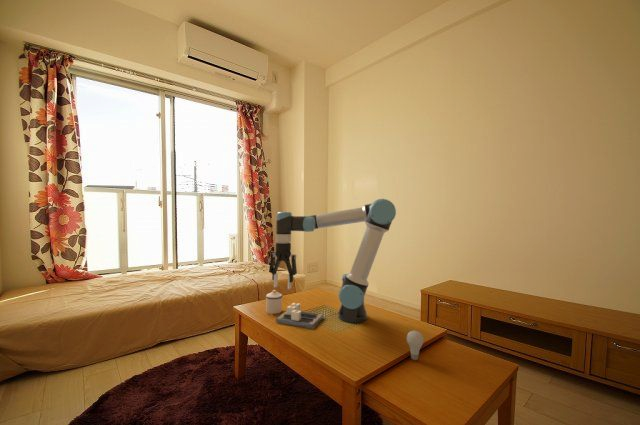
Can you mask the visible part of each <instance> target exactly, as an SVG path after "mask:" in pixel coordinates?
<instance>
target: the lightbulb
mask: <svg viewBox="0 0 640 425" xmlns="http://www.w3.org/2000/svg"><path fill="white" fill-rule="evenodd" d="M424 341H425V340H424V337H423V334H422V333H421V332H419V331H418V330H410V331H409V332H408V333H407V335H406V342H407V344H408V346H409V349H410V359H412V360H413V361H417V360H418V359H419V355H420V350H421V348H422V347H423V344H424Z"/></svg>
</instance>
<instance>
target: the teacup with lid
mask: <svg viewBox="0 0 640 425" xmlns="http://www.w3.org/2000/svg"><path fill="white" fill-rule="evenodd" d="M282 301H283V294H282V293H280V292H278V291H277V290H276V289H273V290H272V291H271V292H270V293H269V292H268V293H267V294H266V296H265V313H267V314H270V315H277V314H280V313H281V312H282V309H283V306H282V304H283V302H282Z"/></svg>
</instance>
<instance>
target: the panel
mask: <svg viewBox="0 0 640 425" xmlns="http://www.w3.org/2000/svg"><path fill="white" fill-rule="evenodd" d="M300 311H301V319H300V320H299V321H295V320H291V315H287V310H286V311H285V312H283V313H281V314H280V315H279V316H277V317H276V318H275V323H277V324H283V325H287V326H288V325H289V326H292V327H293V326H294V327H299V328H305V329H309V330H311V329H312V330H314V329H315V328H316V327H317V325H318V324H320V322H321V321H322V320H323V319H324V314H323V313H315V312H311V311H304V310H300Z"/></svg>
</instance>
